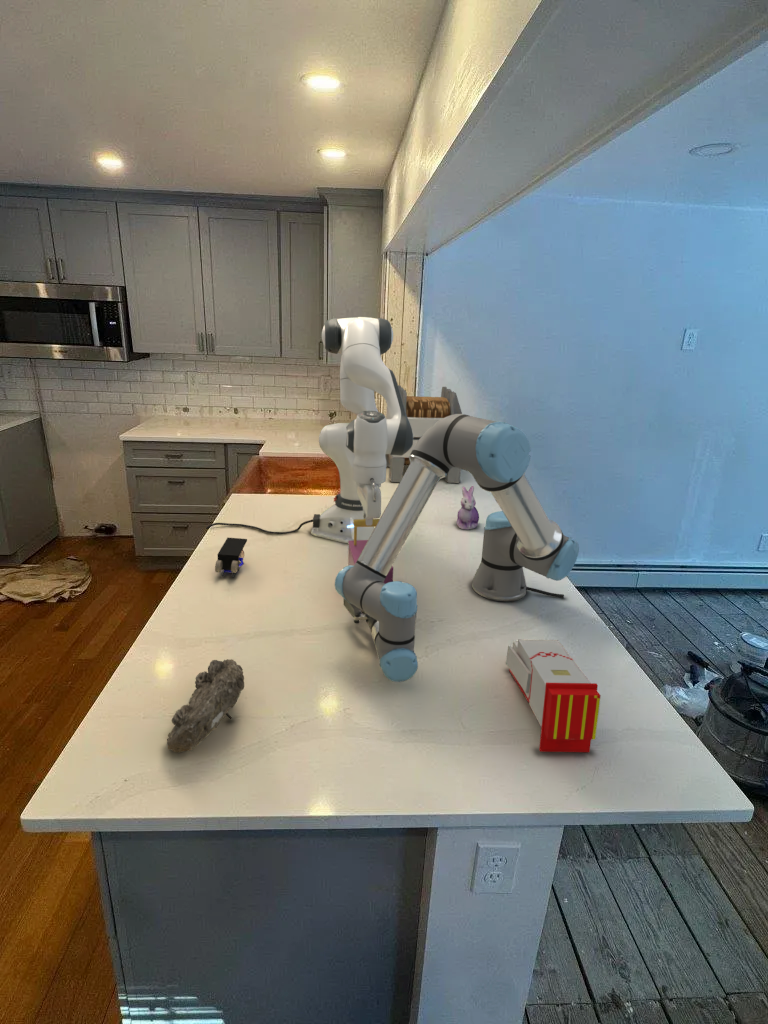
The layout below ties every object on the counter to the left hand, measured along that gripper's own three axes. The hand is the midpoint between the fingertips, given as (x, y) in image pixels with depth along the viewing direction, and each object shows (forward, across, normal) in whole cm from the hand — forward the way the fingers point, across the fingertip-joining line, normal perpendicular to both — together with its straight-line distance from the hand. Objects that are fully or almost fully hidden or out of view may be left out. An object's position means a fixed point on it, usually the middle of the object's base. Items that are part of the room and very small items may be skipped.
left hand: (367, 522), depth 155 cm
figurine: (+20, +44, -45) cm, 65 cm away
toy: (+19, -55, -28) cm, 65 cm away
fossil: (+19, -51, +37) cm, 66 cm away
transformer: (+20, +114, -43) cm, 124 cm away
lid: (+8, -6, 0) cm, 10 cm away
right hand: (+13, -11, 0) cm, 17 cm away
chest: (+19, -6, 0) cm, 20 cm away
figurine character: (+20, +14, +38) cm, 45 cm away
